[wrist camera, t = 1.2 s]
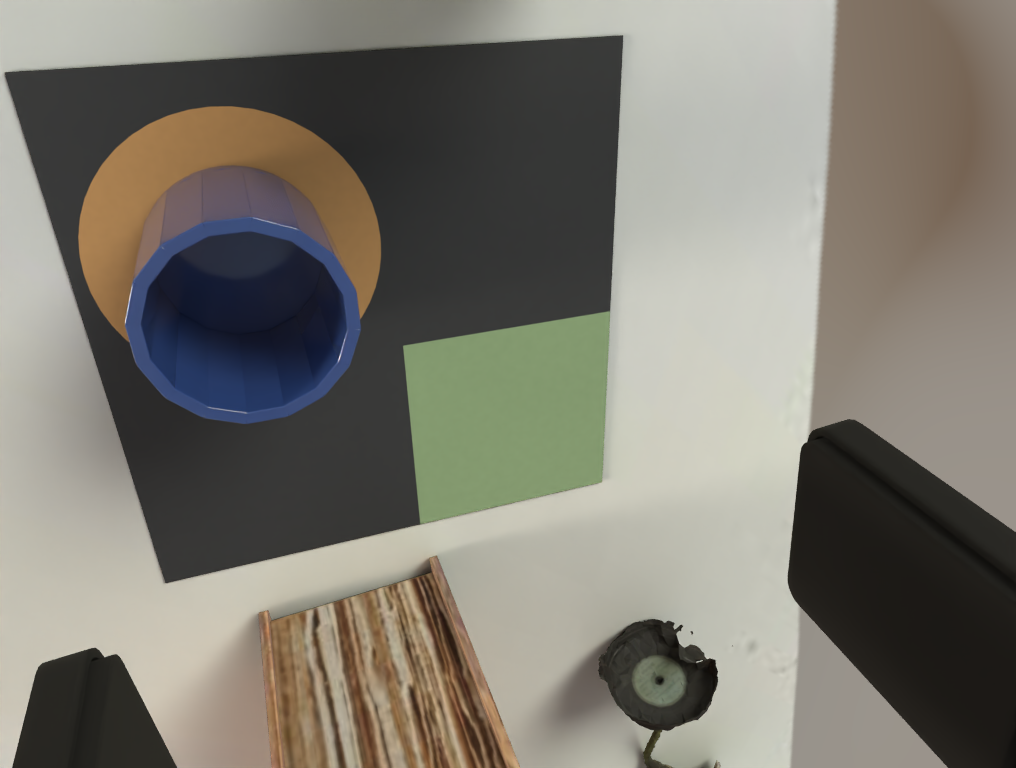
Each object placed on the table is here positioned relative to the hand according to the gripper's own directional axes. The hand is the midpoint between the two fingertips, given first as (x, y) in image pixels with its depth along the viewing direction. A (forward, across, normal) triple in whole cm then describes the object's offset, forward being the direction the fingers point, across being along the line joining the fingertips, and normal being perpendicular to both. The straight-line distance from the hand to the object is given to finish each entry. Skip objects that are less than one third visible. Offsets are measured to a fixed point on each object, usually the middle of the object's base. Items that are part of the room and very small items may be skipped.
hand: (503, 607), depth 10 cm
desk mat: (+24, -1, +6) cm, 24 cm away
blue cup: (+23, +3, +2) cm, 24 cm away
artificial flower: (+24, -16, +41) cm, 50 cm away
